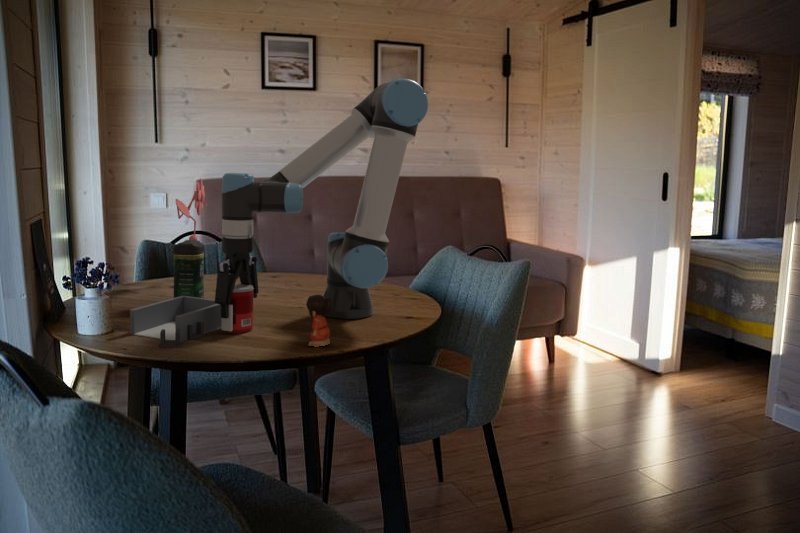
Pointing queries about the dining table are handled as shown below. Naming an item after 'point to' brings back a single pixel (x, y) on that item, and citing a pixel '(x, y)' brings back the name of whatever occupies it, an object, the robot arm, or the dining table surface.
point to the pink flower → (199, 201)
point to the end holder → (175, 317)
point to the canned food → (242, 308)
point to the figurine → (319, 319)
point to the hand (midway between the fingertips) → (237, 326)
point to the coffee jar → (189, 269)
